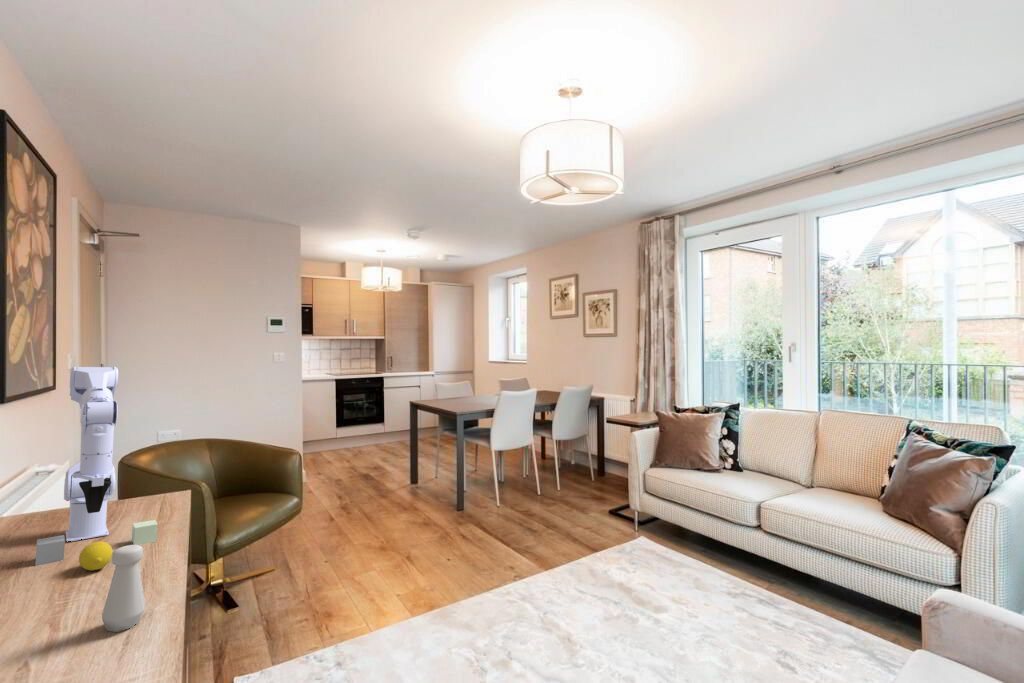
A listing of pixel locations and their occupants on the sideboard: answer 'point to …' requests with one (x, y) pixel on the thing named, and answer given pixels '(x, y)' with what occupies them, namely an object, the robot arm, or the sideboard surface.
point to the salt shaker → (125, 590)
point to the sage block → (144, 532)
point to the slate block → (50, 550)
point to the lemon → (95, 555)
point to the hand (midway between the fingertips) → (93, 512)
